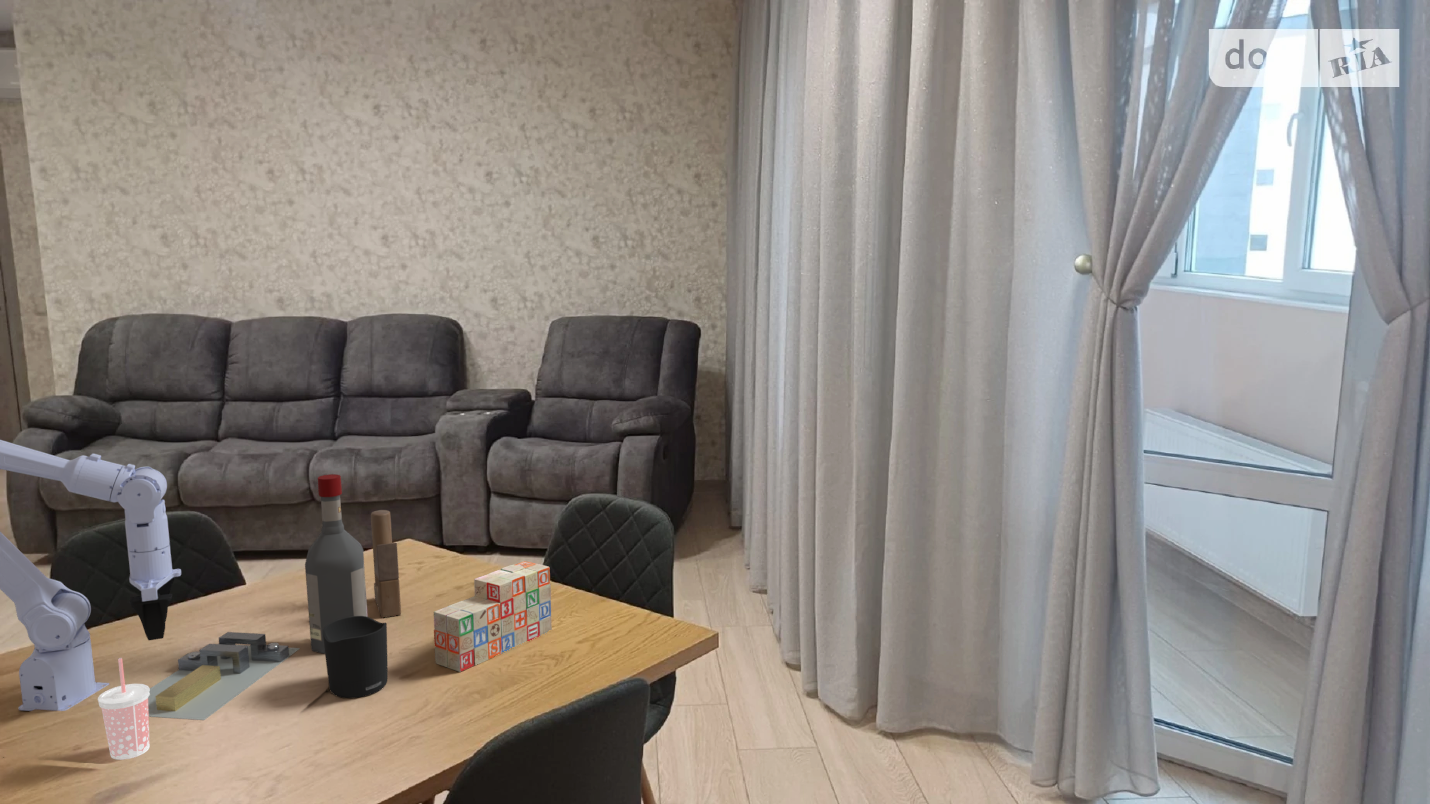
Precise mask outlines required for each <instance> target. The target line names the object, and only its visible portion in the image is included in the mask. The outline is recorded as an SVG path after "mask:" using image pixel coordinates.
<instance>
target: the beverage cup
mask: <svg viewBox="0 0 1430 804" xmlns="http://www.w3.org/2000/svg"><path fill="white" fill-rule="evenodd" d="M117 661H118V670H119V672H118V673H119V681H120V685H118V686H114V687H112V688H109V689H108V690H106V691H103V692H102V693H101V694H99V696H98V697H97V702H98V706H99V708H101V713H102V718H103V722H104V728H105V734H106V739H107V744H108V749H109V755H110V757H111V759H114V760H121V761H122V760H130V759H133V758H137V757H139V756H141V755H144V754H145V753H146V752H147V751H148V750H149V749H150V747H151V746H150V745H151V744H150V720H149V719H150V717H149V712H148V697H149V695H150V693H149V691H150V688H151V687H149V685H146V684H144V683H130V684H129V683H128V684H126V680H125V672H124V664H123V662H124V661H123V657H119V658H118V660H117Z"/></svg>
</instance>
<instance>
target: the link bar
mask: <svg viewBox="0 0 1430 804" xmlns="http://www.w3.org/2000/svg"><path fill="white" fill-rule="evenodd" d="M219 680H221V674H220V666H209V665H202V666H200V667H199V668H197V669H196V670H194V671H193V672H191V673H190V674H188V675H187V676H185V677H184V678H182V679H181V680H179V681H178V682H176V683H175V684H173V685H172V686H170V687H169V688H167V689H166V690H164V691H162V692H161V693H159V694H158V695H156V706H157V710H165V711H176V710H178V709H179V708H181V707H182V706H183V705H185V704H186V703H188V702H189V701H191V700H192V699H193V698H195V697H196V696H198V695H199V694H201V693H202V692H203V691H205V690H206V689H208V688H209V687H211V686H212V685H213V684H215V683H216V682H218V681H219Z"/></svg>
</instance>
